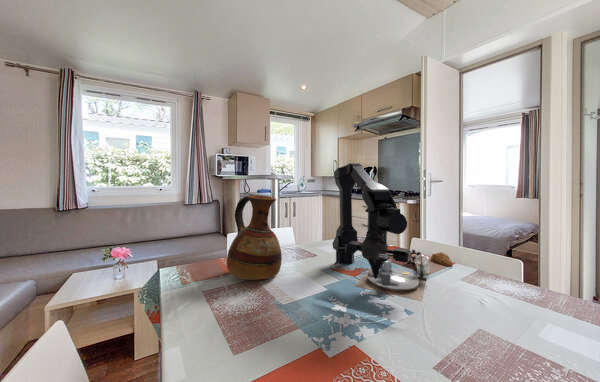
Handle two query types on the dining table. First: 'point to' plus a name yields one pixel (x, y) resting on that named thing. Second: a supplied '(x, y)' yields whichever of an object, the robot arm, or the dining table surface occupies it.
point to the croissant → (442, 259)
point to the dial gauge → (421, 266)
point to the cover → (387, 267)
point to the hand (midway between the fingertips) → (375, 278)
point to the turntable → (395, 280)
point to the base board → (413, 294)
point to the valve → (416, 264)
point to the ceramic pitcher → (254, 242)
